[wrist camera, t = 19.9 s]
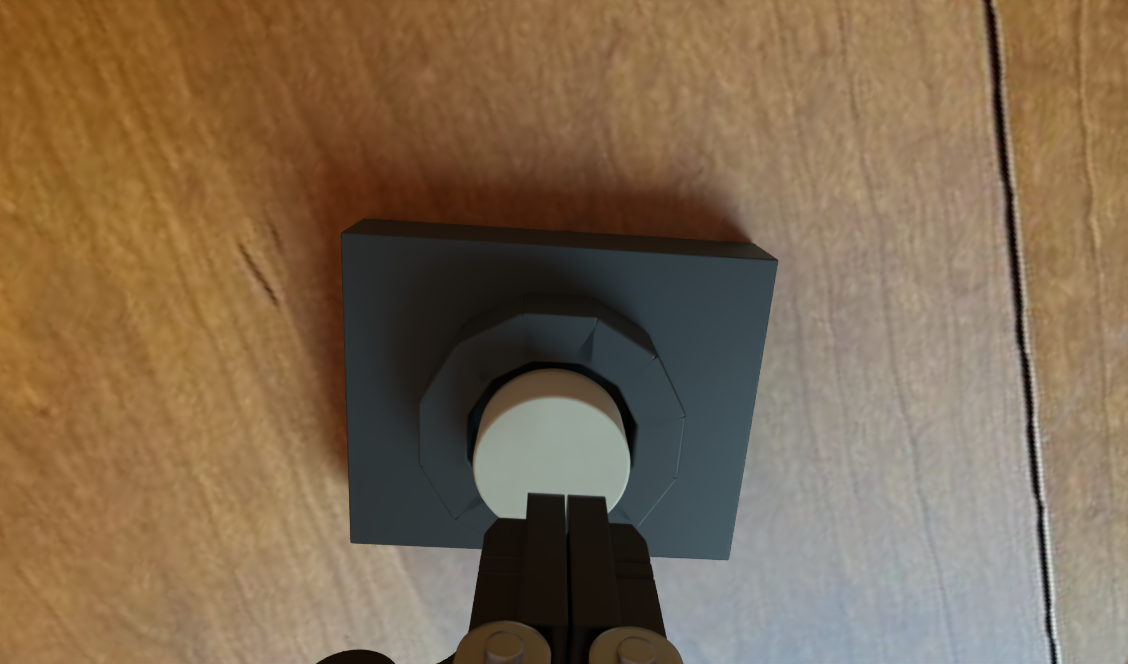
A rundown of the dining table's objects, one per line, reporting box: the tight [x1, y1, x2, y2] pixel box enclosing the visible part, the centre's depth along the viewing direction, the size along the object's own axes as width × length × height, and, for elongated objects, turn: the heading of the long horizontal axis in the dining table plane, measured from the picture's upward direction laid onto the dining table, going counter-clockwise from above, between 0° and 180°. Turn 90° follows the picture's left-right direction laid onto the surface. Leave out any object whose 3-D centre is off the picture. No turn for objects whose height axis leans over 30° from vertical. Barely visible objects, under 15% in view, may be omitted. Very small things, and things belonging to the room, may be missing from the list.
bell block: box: [341, 219, 778, 560], centre depth 19 cm, size 11×9×4 cm
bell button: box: [473, 368, 630, 519], centre depth 17 cm, size 4×4×2 cm
